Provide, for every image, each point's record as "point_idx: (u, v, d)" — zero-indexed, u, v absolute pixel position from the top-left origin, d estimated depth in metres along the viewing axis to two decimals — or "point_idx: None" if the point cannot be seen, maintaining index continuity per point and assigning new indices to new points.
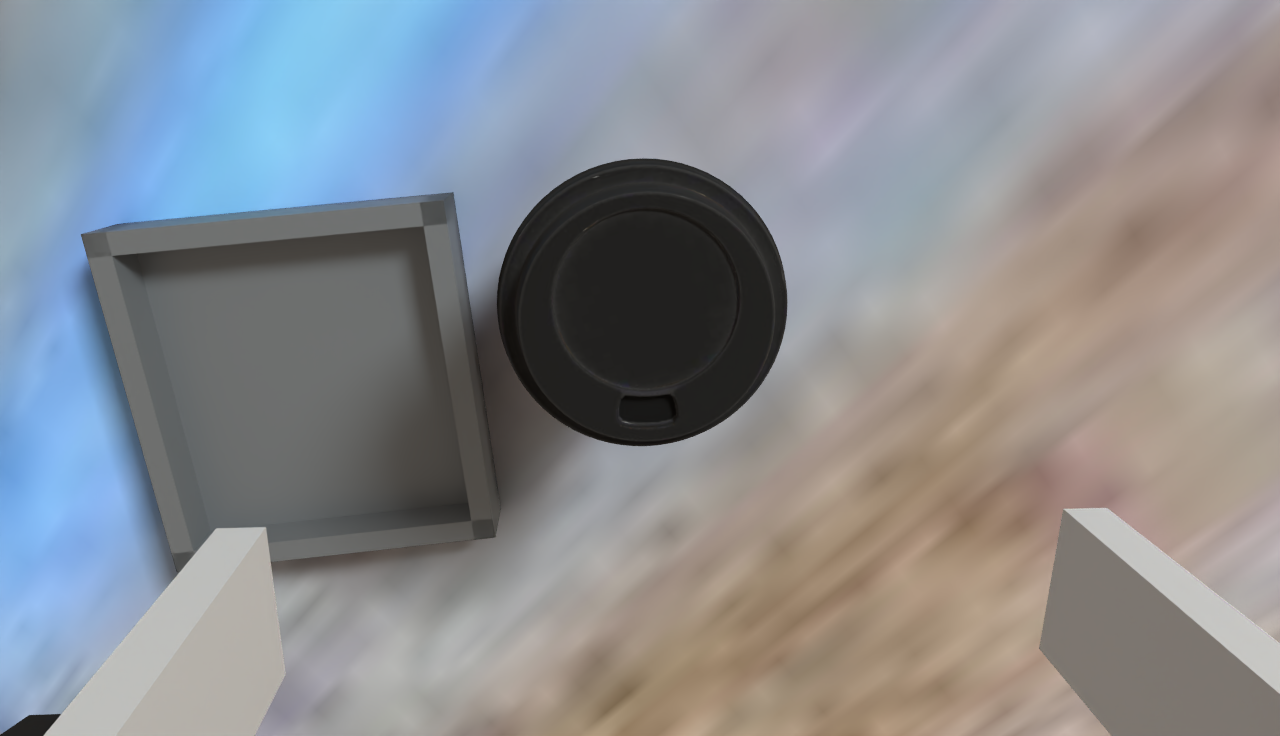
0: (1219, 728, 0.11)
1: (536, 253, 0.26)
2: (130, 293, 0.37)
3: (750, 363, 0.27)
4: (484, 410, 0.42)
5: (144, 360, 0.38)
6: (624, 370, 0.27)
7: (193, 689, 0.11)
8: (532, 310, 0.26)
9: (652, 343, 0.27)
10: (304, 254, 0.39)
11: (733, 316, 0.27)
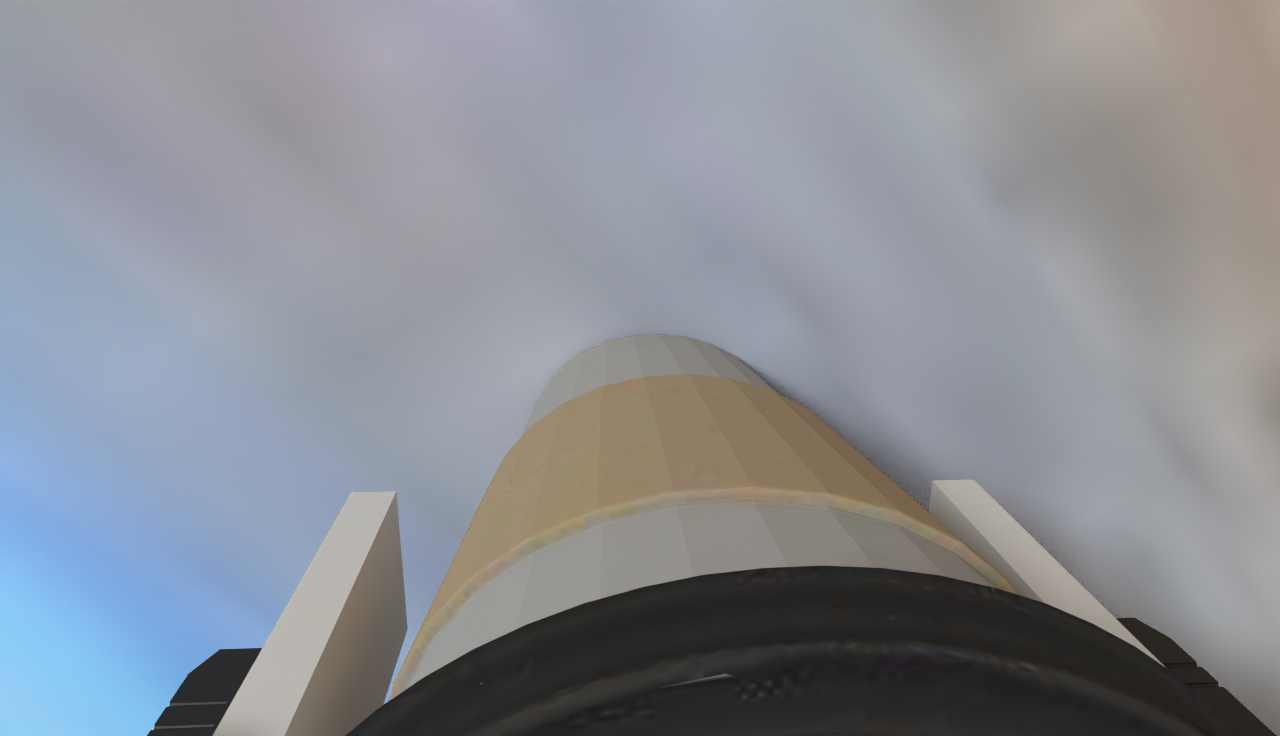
0: None
1: None
2: None
3: None
4: None
5: None
6: None
7: (358, 629, 0.12)
8: None
9: None
10: None
11: None
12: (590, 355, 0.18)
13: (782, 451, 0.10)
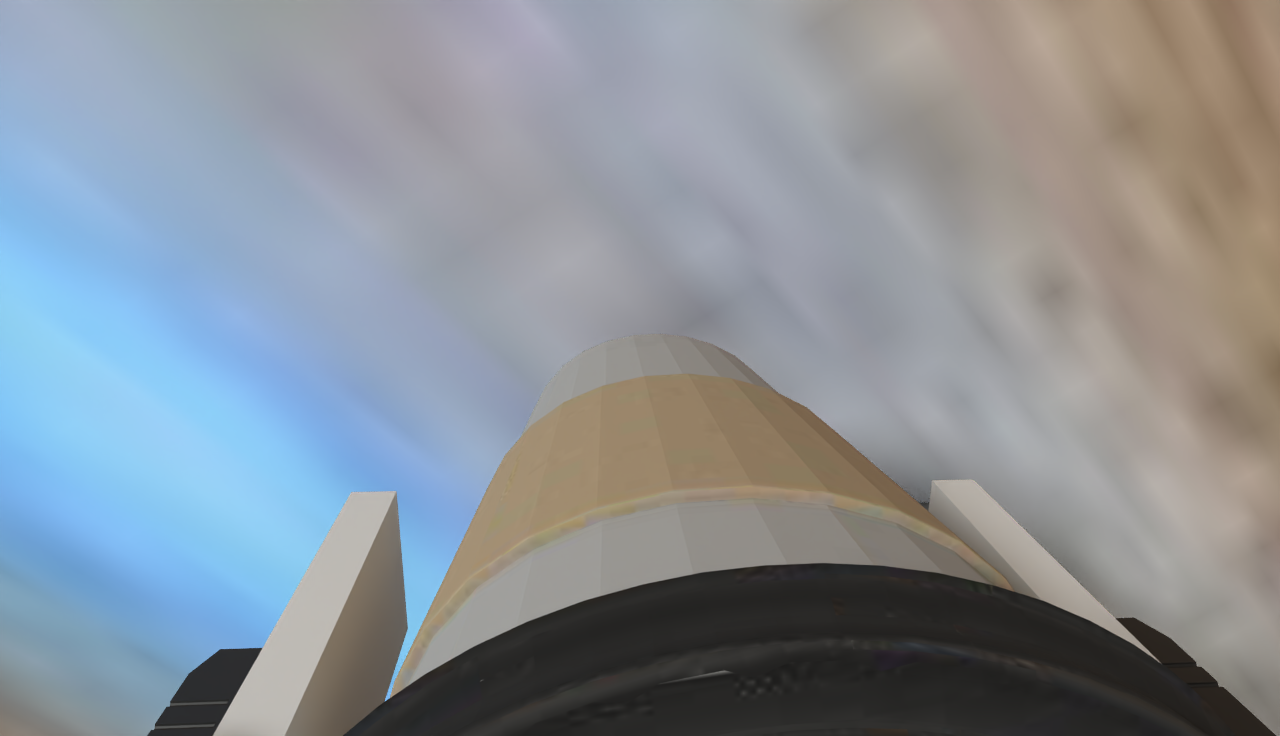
0: None
1: None
2: None
3: None
4: None
5: None
6: None
7: (358, 629, 0.12)
8: None
9: None
10: None
11: None
12: (590, 355, 0.18)
13: (782, 450, 0.10)
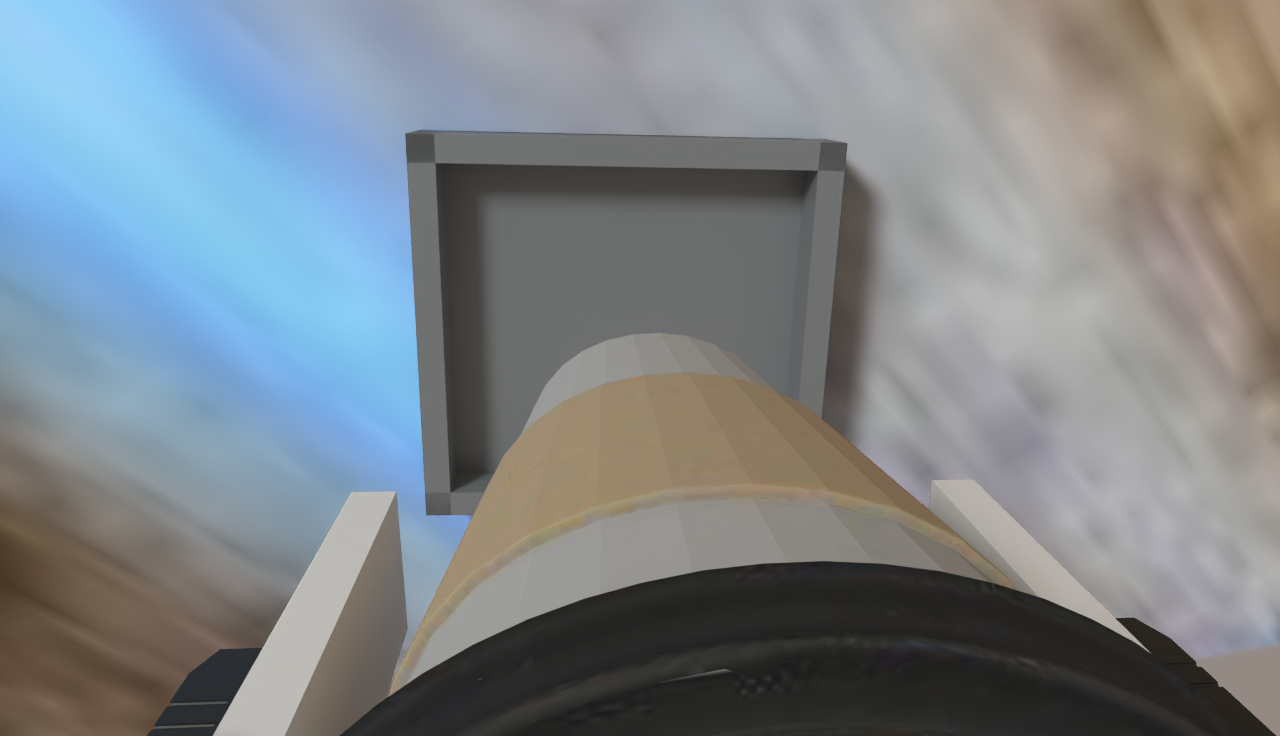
0: None
1: None
2: None
3: None
4: (688, 136, 0.34)
5: None
6: None
7: (358, 629, 0.12)
8: None
9: None
10: (475, 307, 0.35)
11: None
12: (590, 353, 0.18)
13: (782, 448, 0.10)
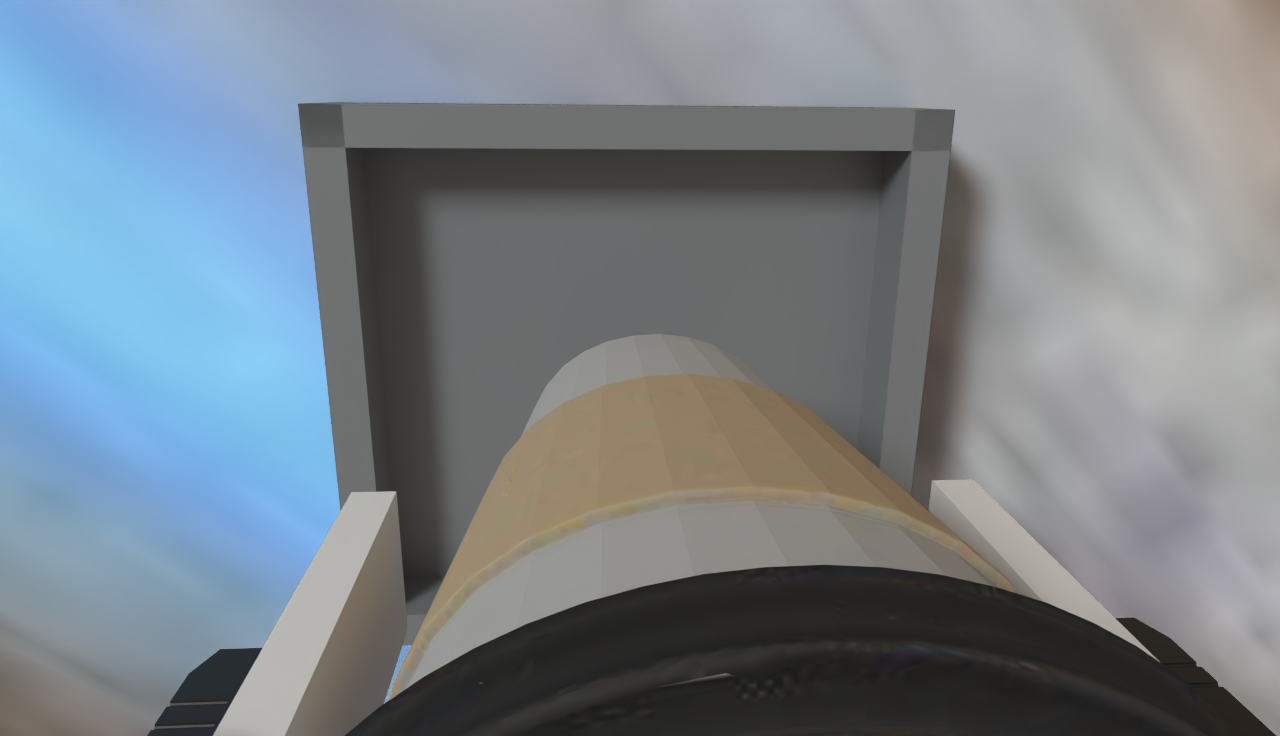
0: None
1: None
2: None
3: None
4: (718, 106, 0.24)
5: None
6: None
7: (358, 629, 0.12)
8: None
9: None
10: (418, 354, 0.25)
11: None
12: (590, 355, 0.18)
13: (782, 451, 0.10)
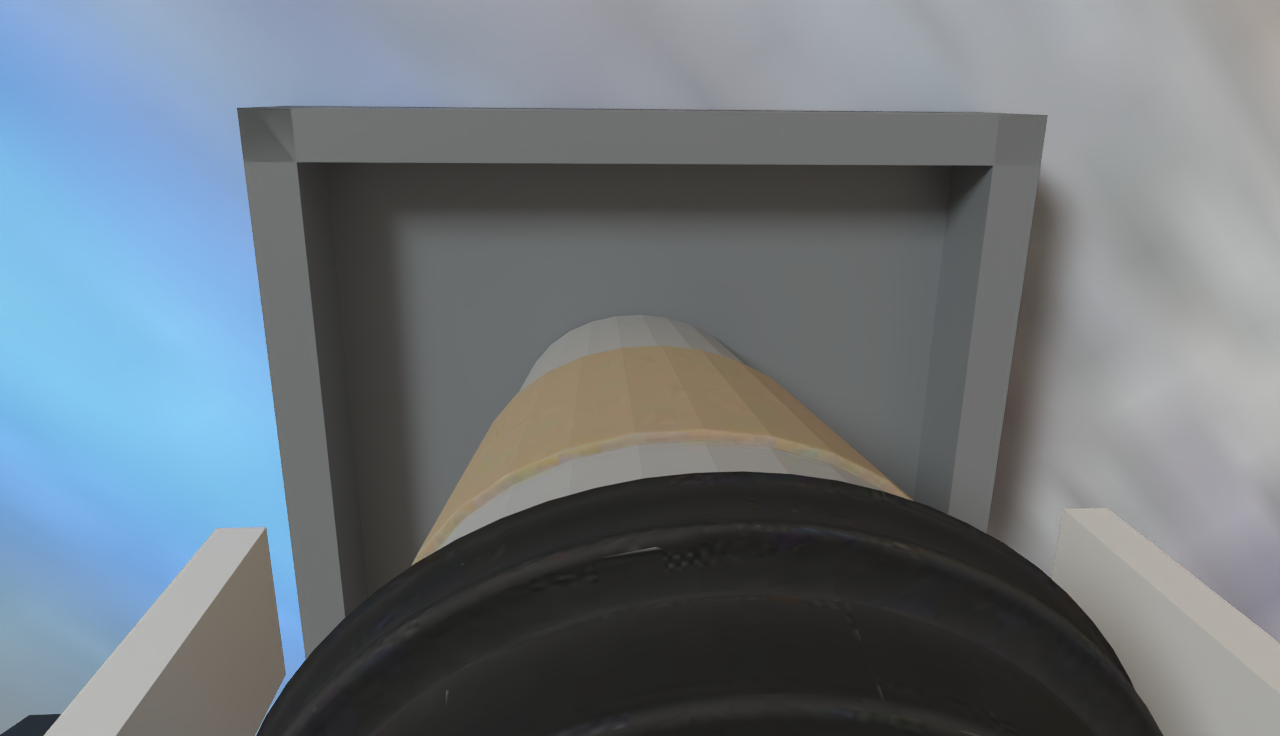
0: (1219, 728, 0.11)
1: None
2: None
3: None
4: (753, 110, 0.20)
5: None
6: None
7: (193, 689, 0.11)
8: None
9: None
10: (392, 406, 0.21)
11: None
12: (576, 333, 0.19)
13: (736, 405, 0.12)
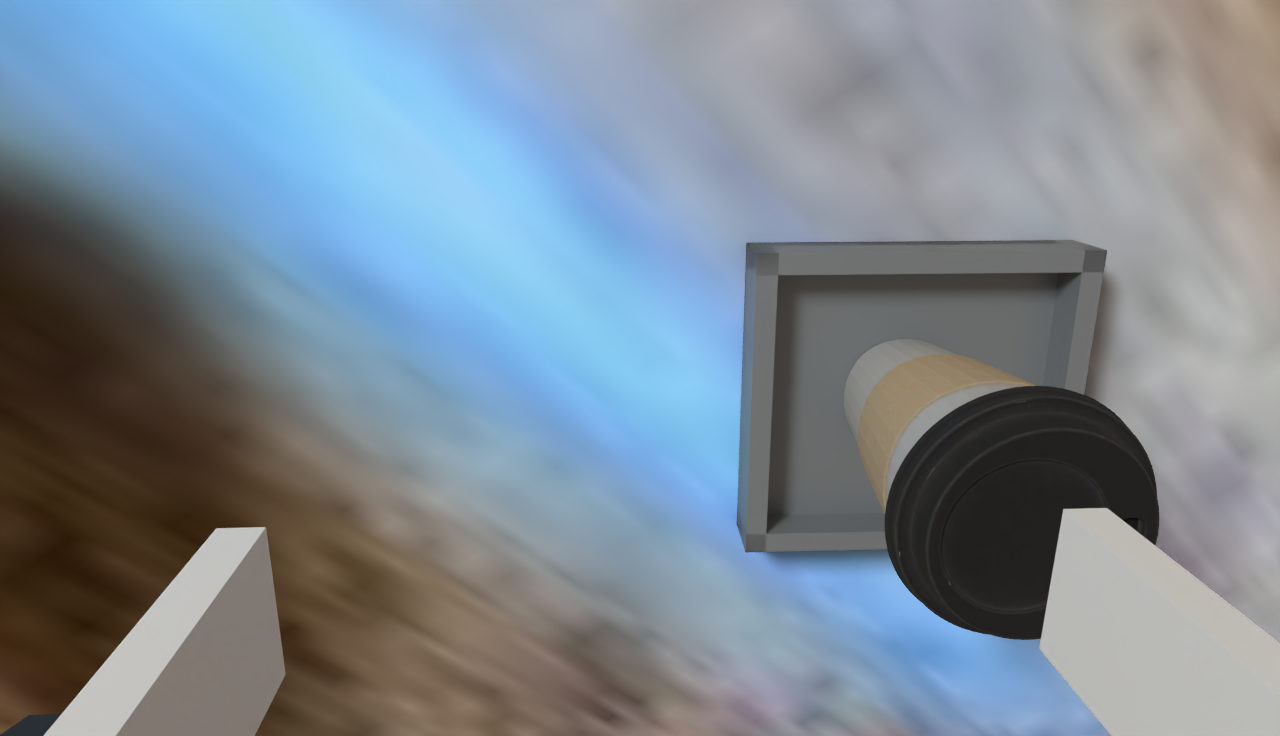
0: (1219, 728, 0.11)
1: (960, 619, 0.30)
2: (798, 527, 0.44)
3: (1106, 453, 0.28)
4: (964, 242, 0.42)
5: (857, 528, 0.43)
6: None
7: (193, 689, 0.11)
8: (1008, 628, 0.30)
9: None
10: (785, 383, 0.43)
11: (1056, 464, 0.28)
12: (882, 348, 0.41)
13: (1002, 374, 0.34)
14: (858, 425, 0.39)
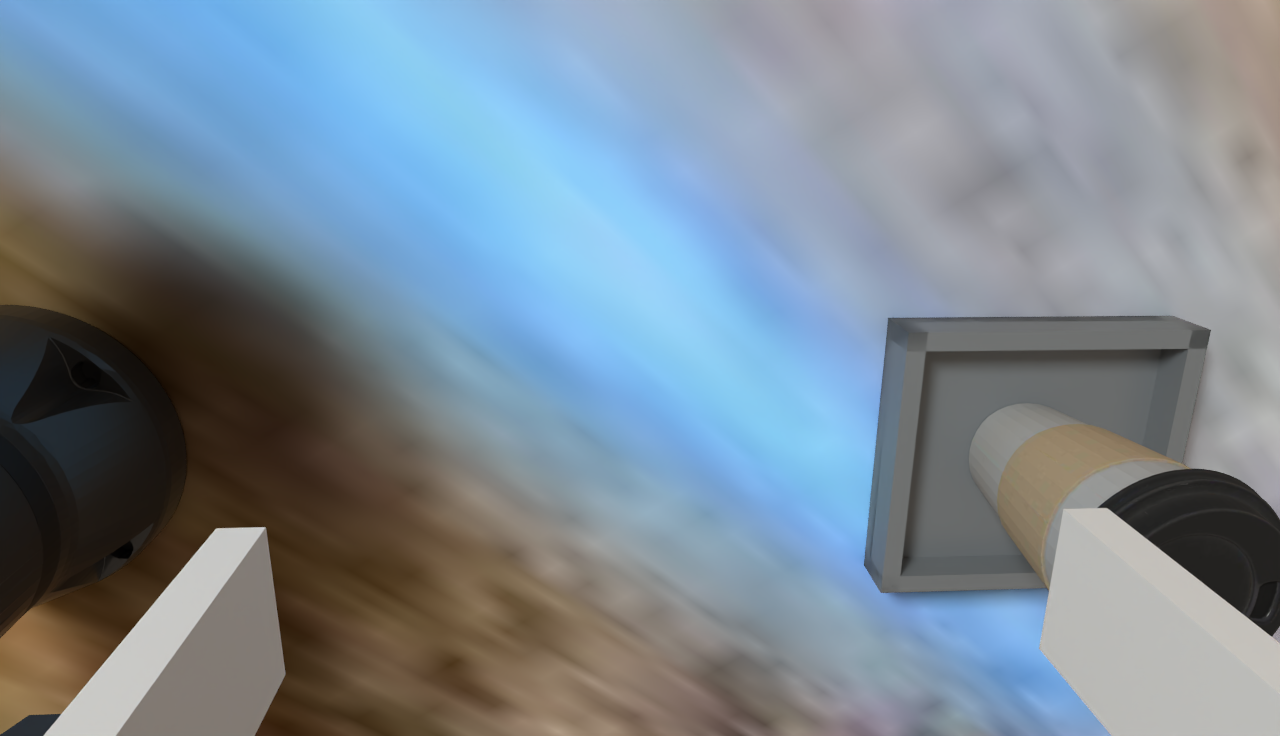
0: (1219, 728, 0.11)
1: None
2: (926, 569, 0.49)
3: (1257, 528, 0.33)
4: (1080, 318, 0.47)
5: (979, 571, 0.49)
6: None
7: (193, 689, 0.11)
8: None
9: None
10: (918, 441, 0.48)
11: (1214, 538, 0.33)
12: (1008, 412, 0.47)
13: (1142, 449, 0.39)
14: (995, 484, 0.44)
